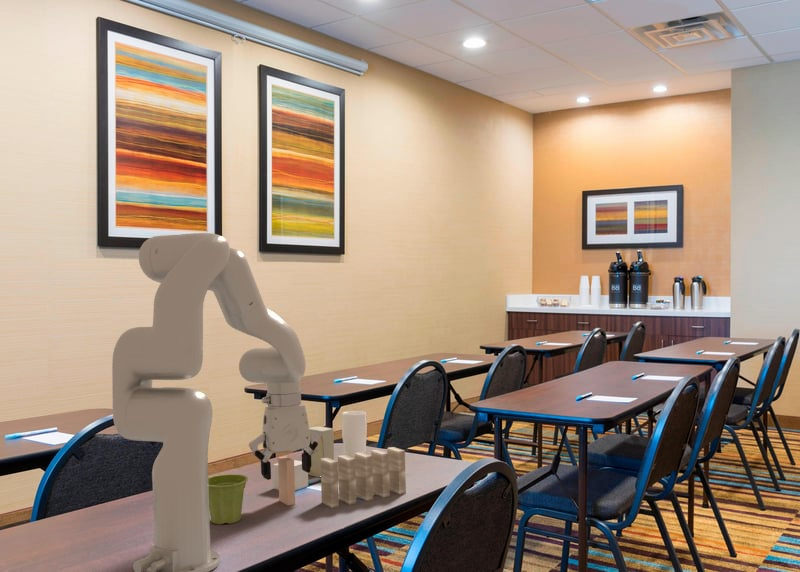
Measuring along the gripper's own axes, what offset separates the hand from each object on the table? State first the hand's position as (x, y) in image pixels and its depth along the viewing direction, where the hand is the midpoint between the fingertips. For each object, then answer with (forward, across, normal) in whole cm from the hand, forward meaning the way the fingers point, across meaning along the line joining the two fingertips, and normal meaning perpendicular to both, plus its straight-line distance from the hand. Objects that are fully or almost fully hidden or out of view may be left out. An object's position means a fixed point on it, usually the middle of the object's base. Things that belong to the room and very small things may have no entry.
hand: (286, 474), depth 173 cm
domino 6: (+6, +24, -8) cm, 26 cm away
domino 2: (+6, +7, -8) cm, 12 cm away
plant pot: (+6, -16, -5) cm, 18 cm away
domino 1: (+6, 0, 0) cm, 6 cm away
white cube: (+7, +6, +11) cm, 14 cm away
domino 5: (+6, +20, -8) cm, 22 cm away
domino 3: (+6, +11, -8) cm, 15 cm away
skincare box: (+7, +17, +18) cm, 26 cm away
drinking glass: (+7, +27, +18) cm, 33 cm away
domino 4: (+6, +16, -8) cm, 19 cm away
